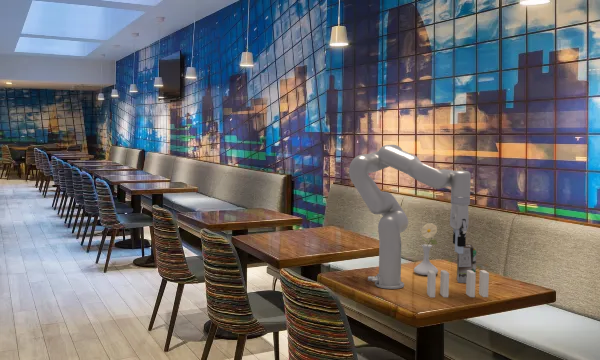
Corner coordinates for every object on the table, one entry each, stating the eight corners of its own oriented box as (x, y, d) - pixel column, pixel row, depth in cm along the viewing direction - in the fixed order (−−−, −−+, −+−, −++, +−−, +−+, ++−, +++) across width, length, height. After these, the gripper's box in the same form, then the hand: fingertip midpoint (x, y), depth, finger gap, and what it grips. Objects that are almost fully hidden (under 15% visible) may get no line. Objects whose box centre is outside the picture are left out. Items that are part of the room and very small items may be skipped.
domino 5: (483, 297, 242) (484, 273, 242) (478, 293, 247) (479, 270, 247) (488, 297, 243) (488, 273, 242) (483, 293, 248) (484, 270, 247)
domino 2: (443, 297, 242) (444, 273, 241) (440, 293, 247) (440, 270, 246) (448, 297, 242) (449, 273, 241) (444, 293, 247) (445, 270, 246)
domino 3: (458, 253, 240) (459, 229, 240) (454, 251, 245) (455, 227, 245) (463, 253, 241) (464, 229, 240) (459, 251, 246) (460, 227, 245)
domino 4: (470, 297, 242) (470, 273, 241) (466, 293, 247) (466, 270, 246) (474, 297, 242) (475, 273, 242) (470, 293, 247) (471, 270, 246)
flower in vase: (408, 272, 284) (410, 220, 282) (428, 270, 288) (429, 219, 286) (425, 278, 272) (427, 224, 270) (445, 276, 277) (447, 223, 275)
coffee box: (472, 283, 264) (473, 248, 262) (457, 282, 265) (458, 247, 264) (470, 278, 273) (472, 244, 271) (456, 277, 274) (457, 243, 273)
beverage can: (472, 276, 278) (472, 251, 277) (455, 273, 282) (456, 248, 281) (478, 273, 284) (479, 248, 283) (462, 270, 289) (462, 246, 288)
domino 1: (430, 297, 241) (430, 273, 240) (427, 294, 246) (427, 270, 245) (435, 297, 241) (435, 273, 241) (431, 294, 246) (432, 270, 246)
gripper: (445, 198, 250) (443, 241, 251) (458, 203, 233) (456, 249, 234) (462, 198, 250) (461, 241, 251) (476, 203, 233) (475, 249, 234)
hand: (459, 244), depth 243 cm, fingers closed on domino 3, 4 cm apart
